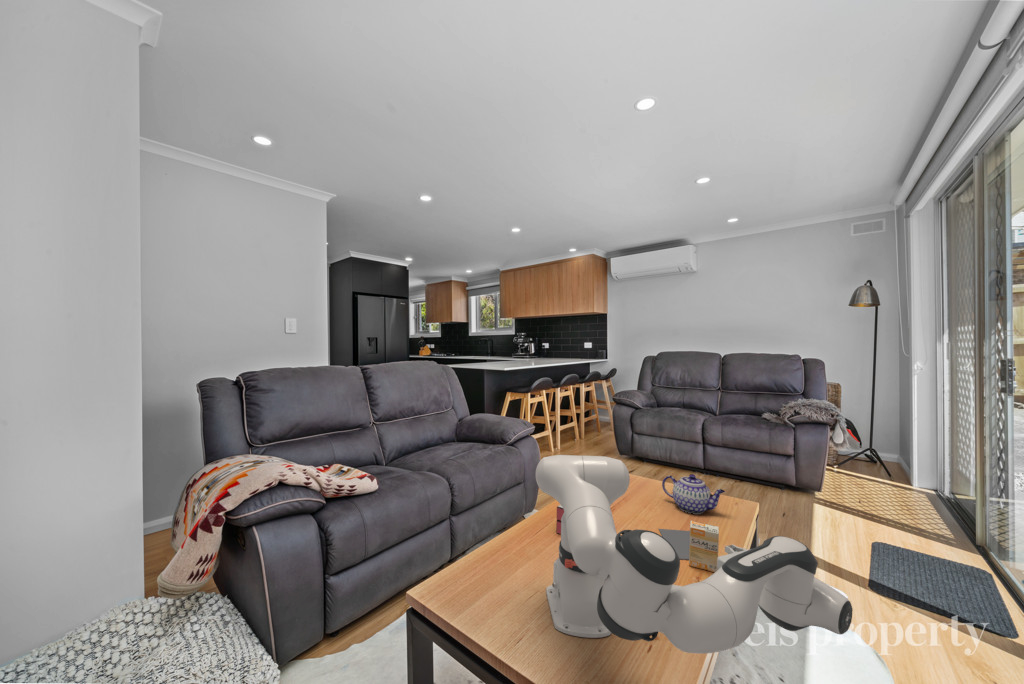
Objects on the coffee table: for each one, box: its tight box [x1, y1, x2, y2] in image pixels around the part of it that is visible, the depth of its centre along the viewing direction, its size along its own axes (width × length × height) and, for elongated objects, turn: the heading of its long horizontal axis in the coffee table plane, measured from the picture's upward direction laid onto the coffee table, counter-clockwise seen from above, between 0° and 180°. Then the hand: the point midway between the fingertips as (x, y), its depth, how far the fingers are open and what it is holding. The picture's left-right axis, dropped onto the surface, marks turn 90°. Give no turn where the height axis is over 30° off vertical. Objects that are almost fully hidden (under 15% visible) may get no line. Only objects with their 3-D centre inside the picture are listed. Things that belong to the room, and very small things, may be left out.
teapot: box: [661, 473, 726, 515], centre depth 164 cm, size 25×15×15 cm, turn 46°
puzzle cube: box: [555, 504, 564, 535], centre depth 143 cm, size 10×10×10 cm
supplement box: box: [688, 520, 720, 573], centre depth 122 cm, size 8×5×13 cm, turn 62°
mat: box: [658, 528, 690, 561], centre depth 135 cm, size 20×14×1 cm
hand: (728, 547), depth 110 cm, fingers closed
